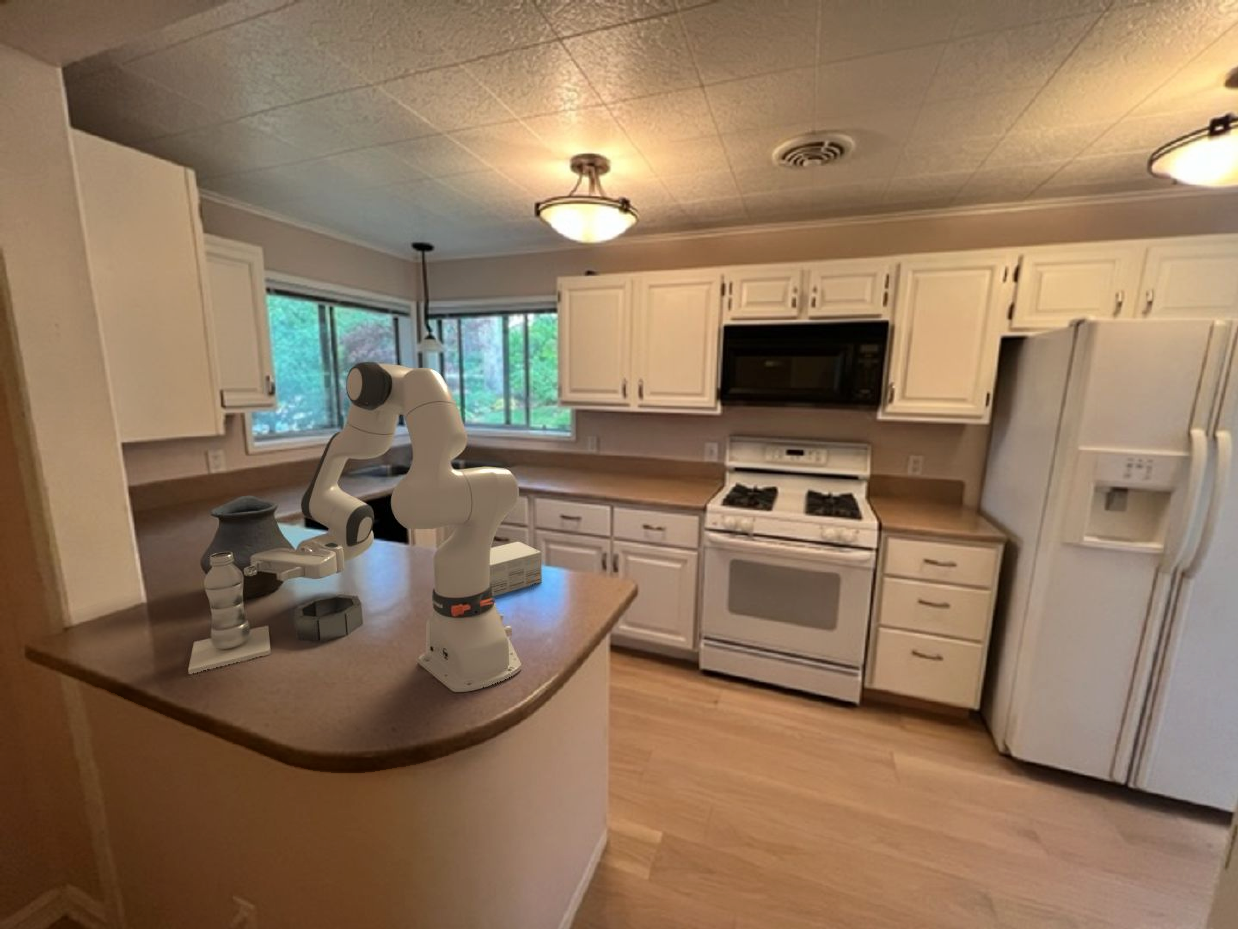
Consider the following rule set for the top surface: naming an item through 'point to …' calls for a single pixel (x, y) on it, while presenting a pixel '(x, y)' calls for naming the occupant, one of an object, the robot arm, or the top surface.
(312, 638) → the metal ring
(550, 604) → the top surface
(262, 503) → the dark grey clay pot
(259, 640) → the ceramic tile
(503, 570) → the supplement box
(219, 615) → the plastic bottle
